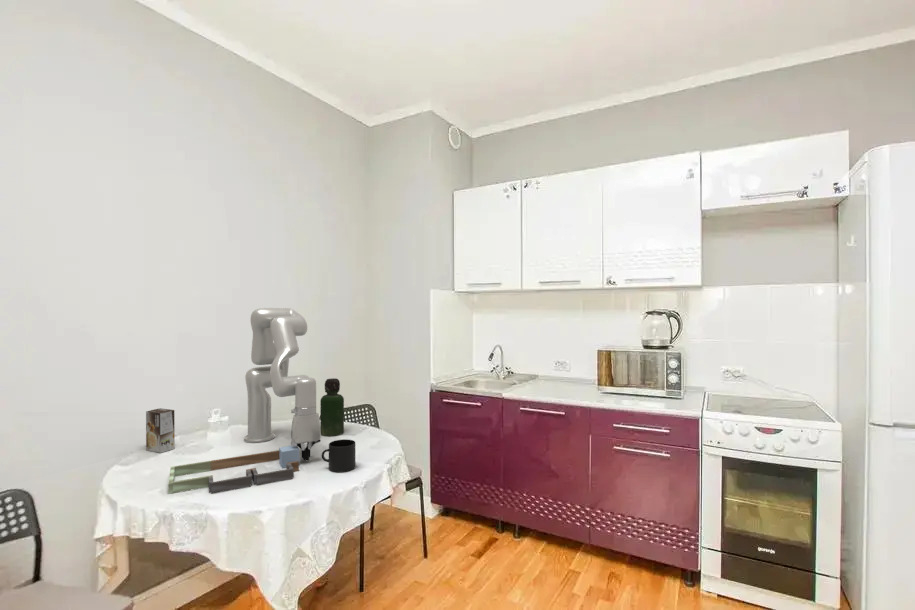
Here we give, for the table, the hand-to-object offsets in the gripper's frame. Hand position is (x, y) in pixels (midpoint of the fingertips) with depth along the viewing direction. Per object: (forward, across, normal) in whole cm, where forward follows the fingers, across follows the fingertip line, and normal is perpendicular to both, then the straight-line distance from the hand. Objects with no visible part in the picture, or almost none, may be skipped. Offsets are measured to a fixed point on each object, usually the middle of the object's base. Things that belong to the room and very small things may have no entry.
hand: (305, 459), depth 171 cm
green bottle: (+1, +19, +33) cm, 38 cm away
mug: (+1, +9, -13) cm, 16 cm away
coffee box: (+1, -48, +45) cm, 66 cm away
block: (+1, -6, 0) cm, 6 cm away
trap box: (+1, -24, -3) cm, 24 cm away
